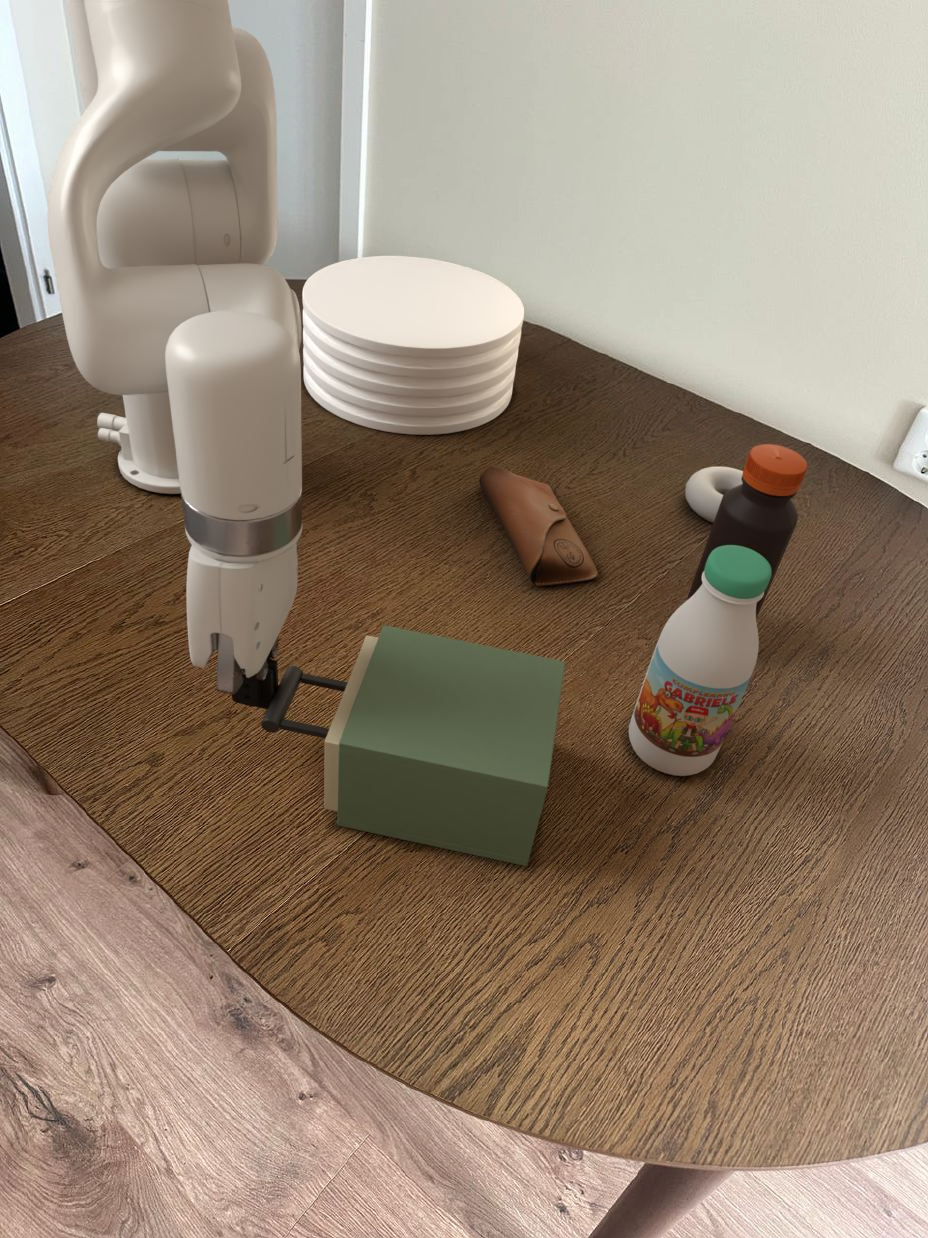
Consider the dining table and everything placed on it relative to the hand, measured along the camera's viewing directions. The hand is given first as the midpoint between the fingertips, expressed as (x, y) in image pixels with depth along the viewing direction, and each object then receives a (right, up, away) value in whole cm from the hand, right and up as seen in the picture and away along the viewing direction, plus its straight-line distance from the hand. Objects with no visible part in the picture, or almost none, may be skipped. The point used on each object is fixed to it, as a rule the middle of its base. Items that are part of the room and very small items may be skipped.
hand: (255, 698), depth 71 cm
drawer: (+11, -5, +1) cm, 12 cm away
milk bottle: (+34, -5, +7) cm, 35 cm away
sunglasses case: (+24, +16, +29) cm, 41 cm away
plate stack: (+9, +38, +52) cm, 65 cm away
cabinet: (+15, -7, +2) cm, 17 cm away
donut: (+47, +19, +36) cm, 62 cm away
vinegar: (+41, +5, +19) cm, 45 cm away
